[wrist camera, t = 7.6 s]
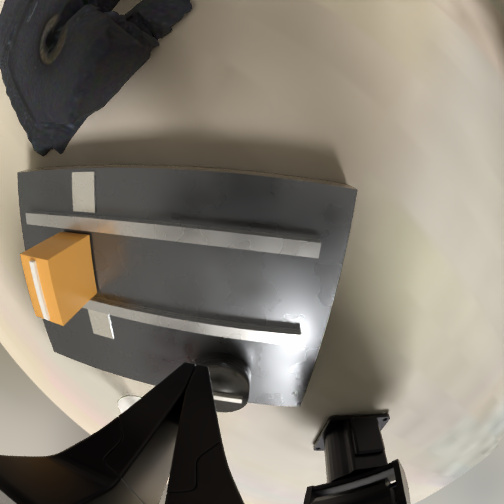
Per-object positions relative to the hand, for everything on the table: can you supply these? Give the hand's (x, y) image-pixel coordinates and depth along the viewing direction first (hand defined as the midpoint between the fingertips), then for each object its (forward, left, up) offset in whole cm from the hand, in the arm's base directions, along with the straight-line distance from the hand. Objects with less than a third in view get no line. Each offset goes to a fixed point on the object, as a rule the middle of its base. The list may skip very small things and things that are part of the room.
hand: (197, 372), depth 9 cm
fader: (0, +10, -7) cm, 12 cm away
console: (-2, +5, -9) cm, 10 cm away
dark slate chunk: (+18, +16, -10) cm, 26 cm away
